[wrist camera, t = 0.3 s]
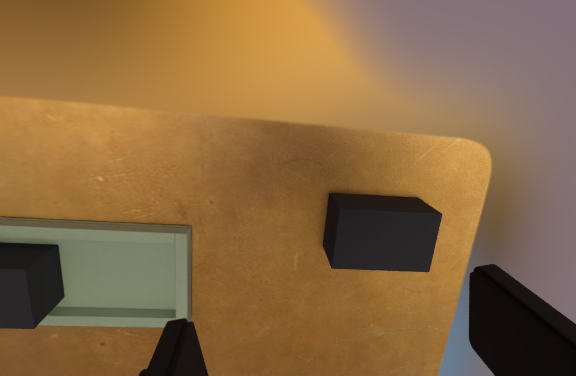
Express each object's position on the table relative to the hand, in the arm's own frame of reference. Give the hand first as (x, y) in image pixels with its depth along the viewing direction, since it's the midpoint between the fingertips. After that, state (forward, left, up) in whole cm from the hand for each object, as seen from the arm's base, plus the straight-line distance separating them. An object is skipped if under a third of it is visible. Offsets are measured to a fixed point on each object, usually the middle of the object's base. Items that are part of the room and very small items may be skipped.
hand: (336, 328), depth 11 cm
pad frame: (-7, -19, -18) cm, 27 cm away
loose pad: (+7, +3, -18) cm, 19 cm away
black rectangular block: (-10, -22, -17) cm, 30 cm away
